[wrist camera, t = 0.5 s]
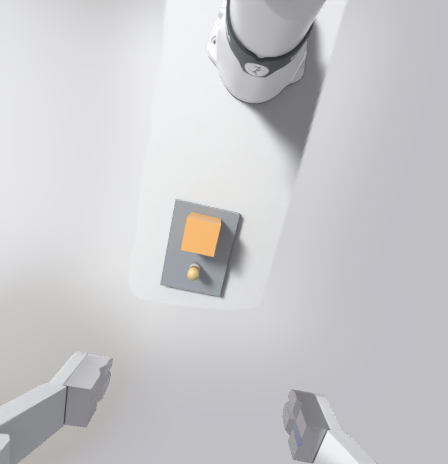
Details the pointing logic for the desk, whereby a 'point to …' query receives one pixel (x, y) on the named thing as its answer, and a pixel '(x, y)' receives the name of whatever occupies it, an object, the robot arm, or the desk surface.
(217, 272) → the plate
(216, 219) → the amber rectangular brick
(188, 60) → the desk surface
